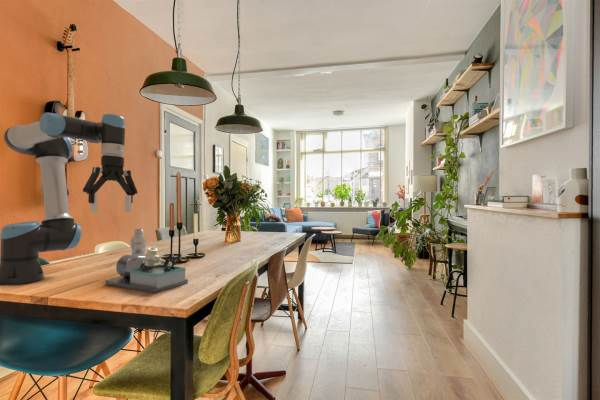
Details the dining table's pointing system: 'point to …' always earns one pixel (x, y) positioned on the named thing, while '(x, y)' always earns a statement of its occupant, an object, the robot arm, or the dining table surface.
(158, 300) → the dining table surface
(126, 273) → the motor stand
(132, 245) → the plastic bottle
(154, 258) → the valve
